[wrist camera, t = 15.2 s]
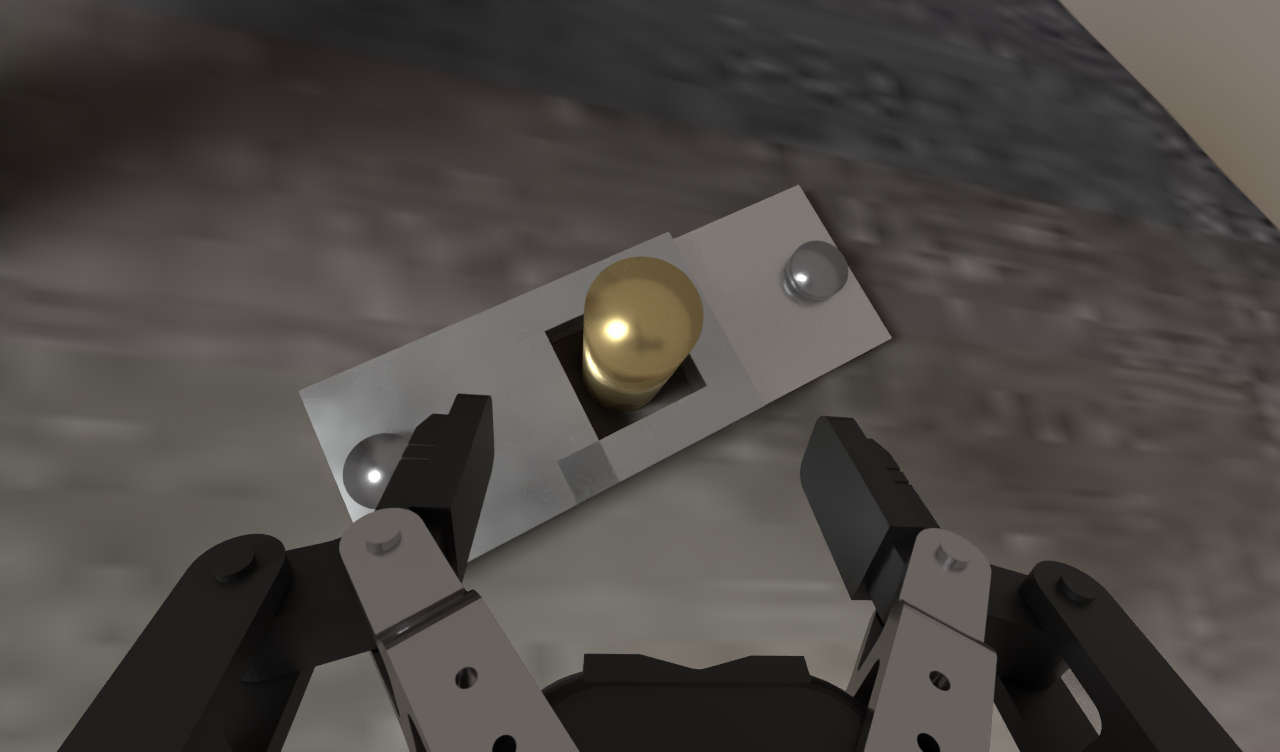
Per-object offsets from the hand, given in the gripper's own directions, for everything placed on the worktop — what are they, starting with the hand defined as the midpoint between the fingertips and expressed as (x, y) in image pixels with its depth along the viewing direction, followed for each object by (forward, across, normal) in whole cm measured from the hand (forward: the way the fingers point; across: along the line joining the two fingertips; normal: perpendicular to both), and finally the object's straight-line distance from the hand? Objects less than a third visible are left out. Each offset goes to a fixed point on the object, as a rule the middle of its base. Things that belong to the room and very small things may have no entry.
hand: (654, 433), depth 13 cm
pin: (+12, 0, +6) cm, 13 cm away
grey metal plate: (+12, 0, +6) cm, 13 cm away
